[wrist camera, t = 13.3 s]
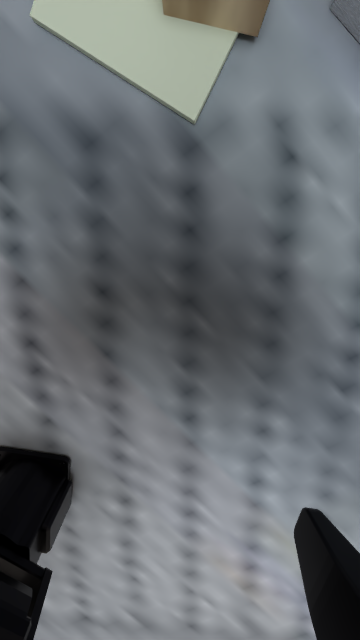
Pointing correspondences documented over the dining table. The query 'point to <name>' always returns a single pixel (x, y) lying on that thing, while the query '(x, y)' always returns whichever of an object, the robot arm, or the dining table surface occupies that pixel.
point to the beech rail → (220, 13)
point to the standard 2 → (348, 15)
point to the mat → (143, 46)
